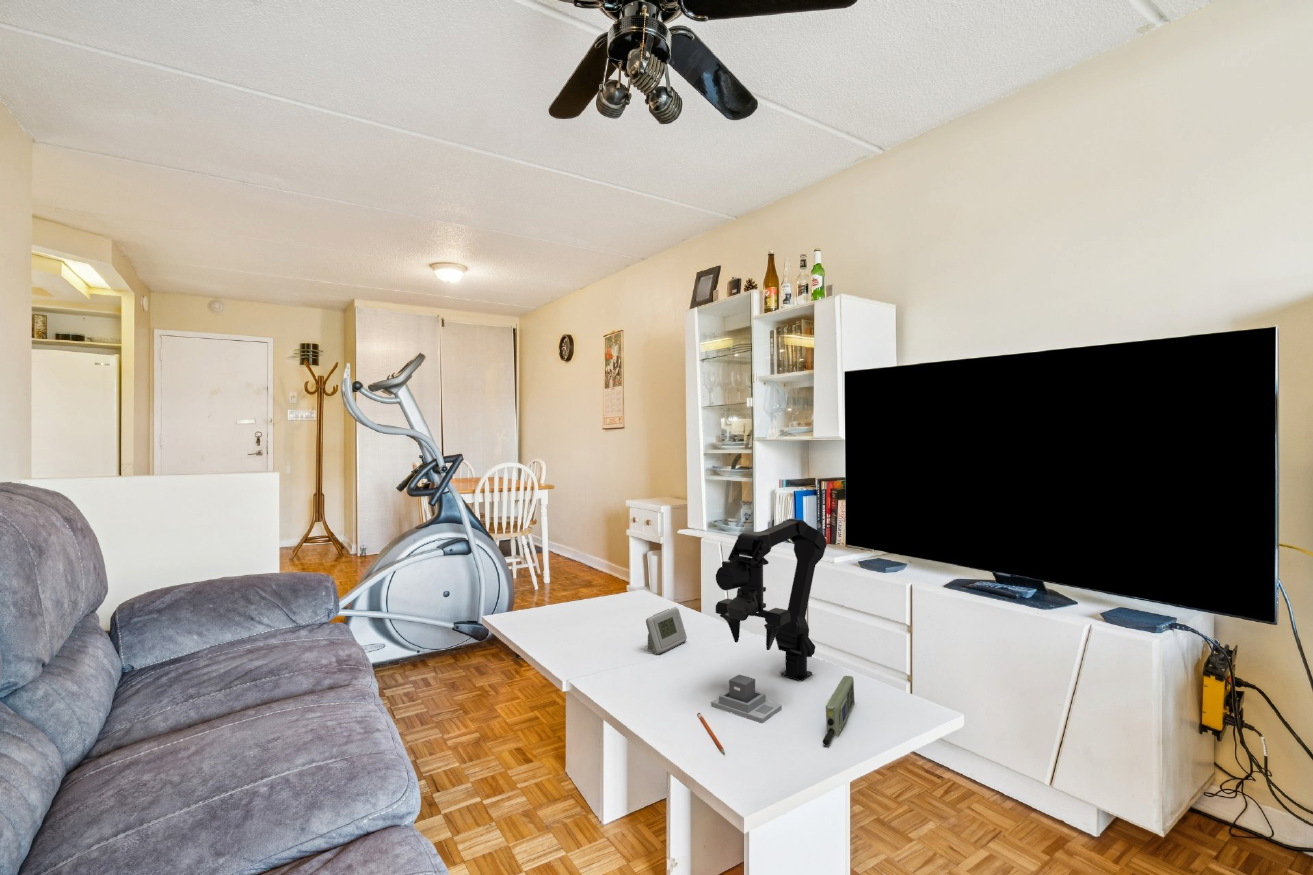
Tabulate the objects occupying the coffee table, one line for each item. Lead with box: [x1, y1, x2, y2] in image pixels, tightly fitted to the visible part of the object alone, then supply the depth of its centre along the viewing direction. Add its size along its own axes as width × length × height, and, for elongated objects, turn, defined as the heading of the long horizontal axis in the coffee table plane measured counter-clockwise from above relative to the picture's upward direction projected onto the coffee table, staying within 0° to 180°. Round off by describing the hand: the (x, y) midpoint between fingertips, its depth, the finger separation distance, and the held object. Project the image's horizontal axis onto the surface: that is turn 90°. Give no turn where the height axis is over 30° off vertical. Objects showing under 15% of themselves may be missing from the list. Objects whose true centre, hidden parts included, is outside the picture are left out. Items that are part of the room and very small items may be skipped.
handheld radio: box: [822, 675, 855, 746], centre depth 137 cm, size 7×3×25 cm
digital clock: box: [645, 606, 687, 655], centre depth 188 cm, size 16×9×11 cm, turn 133°
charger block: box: [728, 674, 756, 703], centre depth 145 cm, size 5×4×6 cm
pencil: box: [696, 712, 726, 756], centre depth 132 cm, size 1×19×1 cm, turn 13°
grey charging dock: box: [710, 689, 783, 724], centre depth 145 cm, size 9×14×3 cm, turn 50°
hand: (752, 645), depth 153 cm, fingers open, 9 cm apart
